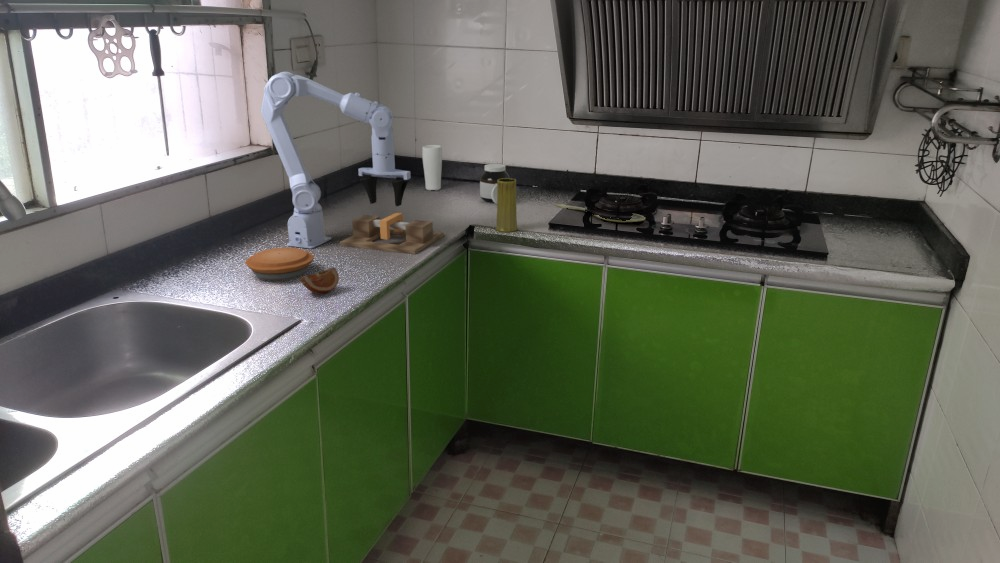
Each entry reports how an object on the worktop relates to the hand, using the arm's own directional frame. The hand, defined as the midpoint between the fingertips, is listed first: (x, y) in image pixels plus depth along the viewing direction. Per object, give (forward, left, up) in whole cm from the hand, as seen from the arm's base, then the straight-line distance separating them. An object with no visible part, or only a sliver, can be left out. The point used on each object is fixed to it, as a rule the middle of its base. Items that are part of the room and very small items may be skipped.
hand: (385, 204), depth 198 cm
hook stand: (0, -2, -10) cm, 10 cm away
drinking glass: (+61, +15, -10) cm, 63 cm away
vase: (+21, -27, -10) cm, 35 cm away
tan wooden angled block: (-1, -2, -8) cm, 8 cm away
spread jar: (+51, -13, -10) cm, 53 cm away
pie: (-33, +10, -10) cm, 36 cm away
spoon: (+46, -47, -10) cm, 66 cm away
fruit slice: (-41, -6, -10) cm, 43 cm away
